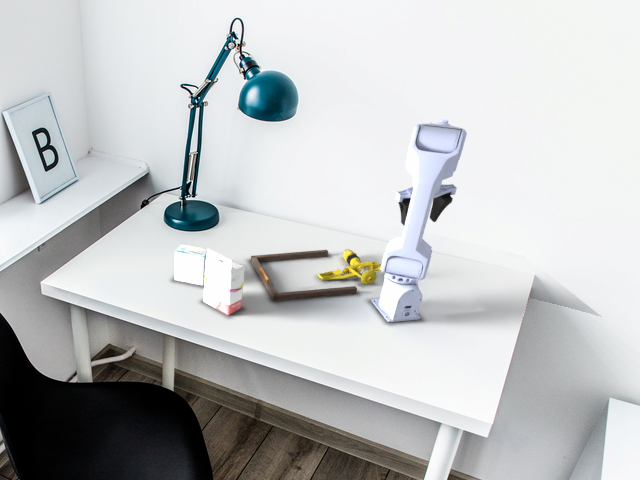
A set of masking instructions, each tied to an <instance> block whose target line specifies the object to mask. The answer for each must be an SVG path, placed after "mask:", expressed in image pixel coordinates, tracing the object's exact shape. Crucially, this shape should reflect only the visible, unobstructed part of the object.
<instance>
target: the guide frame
mask: <svg viewBox="0 0 640 480" xmlns="http://www.w3.org/2000/svg"><path fill="white" fill-rule="evenodd" d="M328 256H329V250H328V249H318V250H305V251H295V252H294V251H293V252H282V253H281V252H280V253H270V254H268V253H267V254H255V255H251V256H250V262H251V264H252V266H253V268H254V269H255V272H256V273H257V275H258V276H259V278H260V280H261V282H262V284H263V285H264V287H265V289H266V290H267V292H268V294H269V296H270V298H271V299H272V301H273V302H275V301H287V300H288V301H289V300H297V299H300V300H301V299H311V298H321V297H333V296H334V297H335V296H347V295H355V294H357V292H358V288H357V286H356V285H354V286H353V285H351V286H342V287H341V286H340V287H329V288H319V289H318V288H316V289H305V290H295V291H284V292H283V291H282V292H277V290H276V288H275V287H274V285H273V283H272V281H271V280H270V278H269V276H268V275H267V273H266V271H265V269H264V268H263V266H262V264H261V263H264V262H266V263H267V262H278V261H289V260H291V261H292V260H301V259H303V260H304V259H312V258H313V259H314V258H324V257H325V258H327V257H328Z"/></svg>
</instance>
